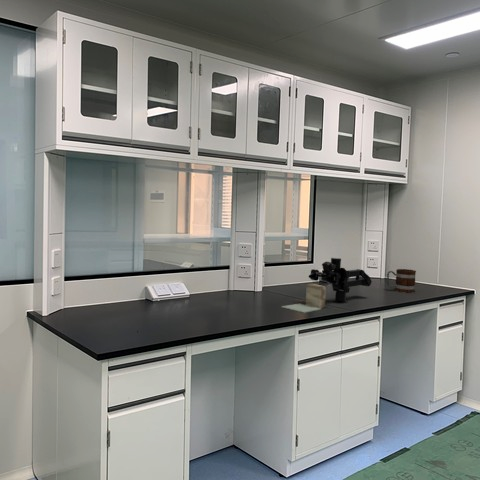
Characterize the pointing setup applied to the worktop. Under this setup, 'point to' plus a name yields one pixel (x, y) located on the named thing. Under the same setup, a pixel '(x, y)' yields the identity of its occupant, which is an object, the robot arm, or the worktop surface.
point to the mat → (301, 308)
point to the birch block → (315, 295)
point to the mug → (404, 280)
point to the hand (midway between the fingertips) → (315, 277)
